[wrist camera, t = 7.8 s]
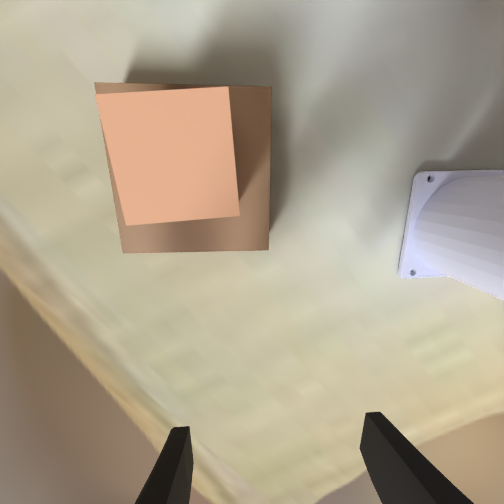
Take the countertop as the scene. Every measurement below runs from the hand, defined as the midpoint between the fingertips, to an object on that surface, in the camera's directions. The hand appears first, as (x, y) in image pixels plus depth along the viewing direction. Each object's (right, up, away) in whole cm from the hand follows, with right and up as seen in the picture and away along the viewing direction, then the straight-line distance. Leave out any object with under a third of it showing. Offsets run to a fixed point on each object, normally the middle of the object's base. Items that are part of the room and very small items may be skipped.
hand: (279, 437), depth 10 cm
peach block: (-4, +12, +4) cm, 14 cm away
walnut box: (-5, +13, +7) cm, 15 cm away
